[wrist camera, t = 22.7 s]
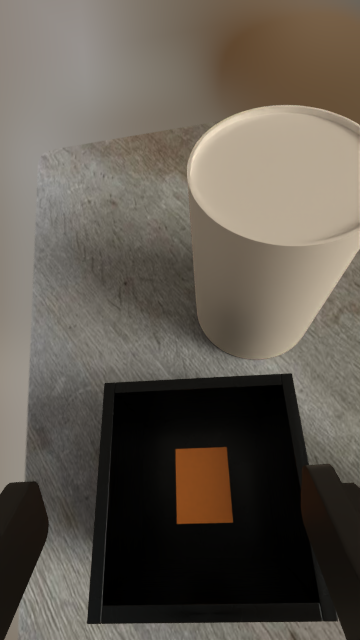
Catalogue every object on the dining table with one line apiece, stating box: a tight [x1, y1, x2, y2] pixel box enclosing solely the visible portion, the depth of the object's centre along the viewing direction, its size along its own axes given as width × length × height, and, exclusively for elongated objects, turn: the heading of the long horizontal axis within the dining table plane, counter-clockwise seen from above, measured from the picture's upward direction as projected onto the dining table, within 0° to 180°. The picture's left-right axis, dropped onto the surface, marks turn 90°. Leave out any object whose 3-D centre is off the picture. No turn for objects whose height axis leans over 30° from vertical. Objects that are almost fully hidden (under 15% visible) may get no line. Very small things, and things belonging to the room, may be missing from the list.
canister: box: [187, 105, 360, 360], centre depth 31 cm, size 14×14×20 cm
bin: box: [87, 373, 338, 624], centre depth 26 cm, size 14×14×13 cm
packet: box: [175, 447, 233, 524], centre depth 28 cm, size 4×5×8 cm
